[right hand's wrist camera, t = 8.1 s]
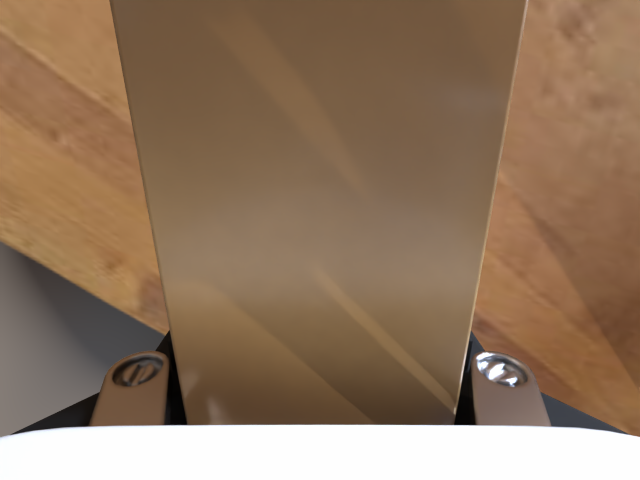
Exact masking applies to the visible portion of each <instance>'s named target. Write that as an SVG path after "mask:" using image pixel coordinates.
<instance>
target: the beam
mask: <svg viewBox="0 0 640 480" xmlns="http://www.w3.org/2000/svg"><path fill="white" fill-rule="evenodd" d="M528 2H529V0H110V5H111V11H112V16H113V22H114V27H115V33H116V38H117V44H118V49H119V55H120V60H121V66H122V71H123V77H124V82H125V88H126V93H127V98H128V104H129V109H130V115H131V120H132V126H133V131H134V137H135V142H136V148H137V153H138V159H139V164H140V170H141V175H142V180H143V186H144V191H145V197H146V202H147V208H148V213H149V219H150V224H151V230H152V235H153V241H154V246H155V252H156V257H157V262H158V268H159V273H160V279H161V284H162V290H163V295H164V301H165V306H166V312H167V317H168V323H169V328H170V334H171V339H172V345H173V350H174V355H175V361H176V366H177V372H178V377H179V383H180V388H181V394H182V399H183V405H184V410H185V416H186V421H187V425H454V422H455V417H456V411H457V405H458V400H459V394H460V388H461V383H462V377H463V371H464V366H465V360H466V354H467V348H468V343H469V337H470V331H471V326H472V320H473V314H474V309H475V303H476V297H477V292H478V286H479V280H480V275H481V269H482V263H483V258H484V252H485V246H486V241H487V235H488V229H489V224H490V218H491V212H492V206H493V201H494V195H495V189H496V184H497V178H498V172H499V167H500V161H501V155H502V150H503V144H504V138H505V133H506V127H507V121H508V116H509V110H510V104H511V99H512V93H513V87H514V82H515V76H516V70H517V64H518V59H519V53H520V47H521V42H522V36H523V30H524V25H525V19H526V13H527V8H528Z"/></svg>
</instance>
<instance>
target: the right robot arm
mask: <svg viewBox="0 0 640 480" xmlns="http://www.w3.org/2000/svg"><path fill="white" fill-rule="evenodd" d="M0 480H640V437H637V436H632V435H629V434H627V433H625V432H623V431H621V430H619V429H617V428H615V427H613V426H611V425H608V424H606V423H604V422H602V421H600V420H598V419H596V418H594V417H592V416H590V415H588V414H585V413H583V412H581V411H579V410H577V409H575V408H573V407H571V406H569V405H567V404H564V403H562V402H560V401H558V400H556V399H554V398H552V397H550V396H548V395H546V394H543V393H541V392H540V390H539V387H538V384H537V381H536V378H535V376H534V374H533V372H532V370H531V369H530V368H529V367H528V366H527V365H526V364H525V363H523V362H522V361H520V360H519V359H517V358H515V357H513V356H510V355H508V354H504V353H501V352H495V351H485V350H484V349H483V347H482V346H481V345H480V343H479V342H478V340H477V339H476V337H475V336H474V334H473V333H472V331H470V337H469V343H468V348H467V354H466V360H465V366H464V371H463V377H462V383H461V388H460V394H459V400H458V405H457V411H456V417H455V422H454V425H187V421H186V416H185V410H184V405H183V399H182V394H181V388H180V383H179V377H178V372H177V366H176V361H175V355H174V350H173V345H172V339H171V334H170V330H169V331H168V333H167V334H166V336H165V337H164V339H163V340H162V342H161V343H160V345H159V346H158V348H157V349H156V351H145V352H139V353H136V354H132V355H130V356H127V357H125V358H123V359H121V360H120V361H118V362H117V363H115V364H114V365H113V366H112V367H111V368H110V369H109V370H108V372H107V374H106V376H105V378H104V381H103V384H102V387H101V390H100V392H99V393H97V394H95V395H93V396H90V397H88V398H86V399H84V400H82V401H80V402H78V403H76V404H74V405H72V406H69V407H67V408H65V409H63V410H61V411H59V412H57V413H55V414H53V415H51V416H48V417H46V418H44V419H42V420H40V421H38V422H36V423H34V424H32V425H30V426H27V427H25V428H23V429H21V430H19V431H17V432H15V433H13V434H11V435H8V436H3V437H0Z"/></svg>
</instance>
